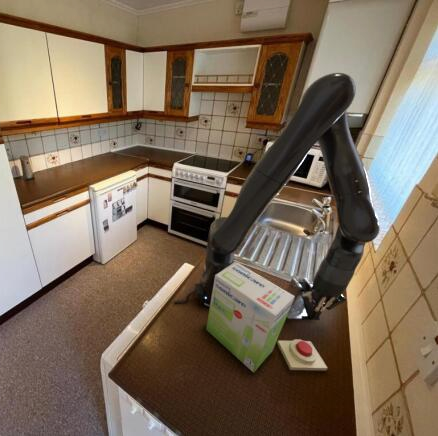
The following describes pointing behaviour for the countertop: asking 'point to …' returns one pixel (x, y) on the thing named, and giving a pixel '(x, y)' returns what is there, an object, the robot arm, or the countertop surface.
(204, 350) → the countertop surface
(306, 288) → the press lever
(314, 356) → the button block
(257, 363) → the toothbrush box
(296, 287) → the grey upright angular piece
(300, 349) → the stop button
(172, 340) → the countertop surface
